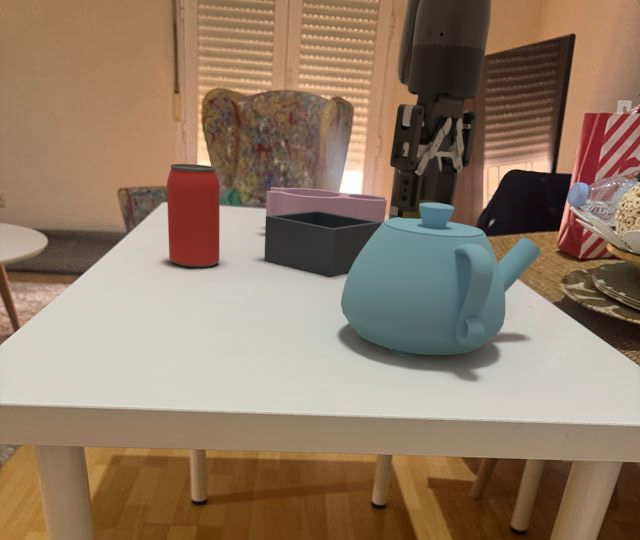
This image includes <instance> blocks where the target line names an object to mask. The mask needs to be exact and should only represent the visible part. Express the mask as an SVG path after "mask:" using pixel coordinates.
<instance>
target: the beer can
mask: <svg viewBox="0 0 640 540" xmlns="http://www.w3.org/2000/svg"><path fill="white" fill-rule="evenodd" d="M166 200H167V201H166V202H167V229H168V259H169V260H170V261H171V262H172V263H174V264H175V265H178V266H181V267H187V268H209V267H213V266H215V265H216V264H218V263H219V261H220V183H219V179H218V176H217V173H216V167H214V166H212V165H206V164H205V165H204V164H193V163H173V164H171V165H170V171H169V174H168V176H167V181H166Z"/></svg>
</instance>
